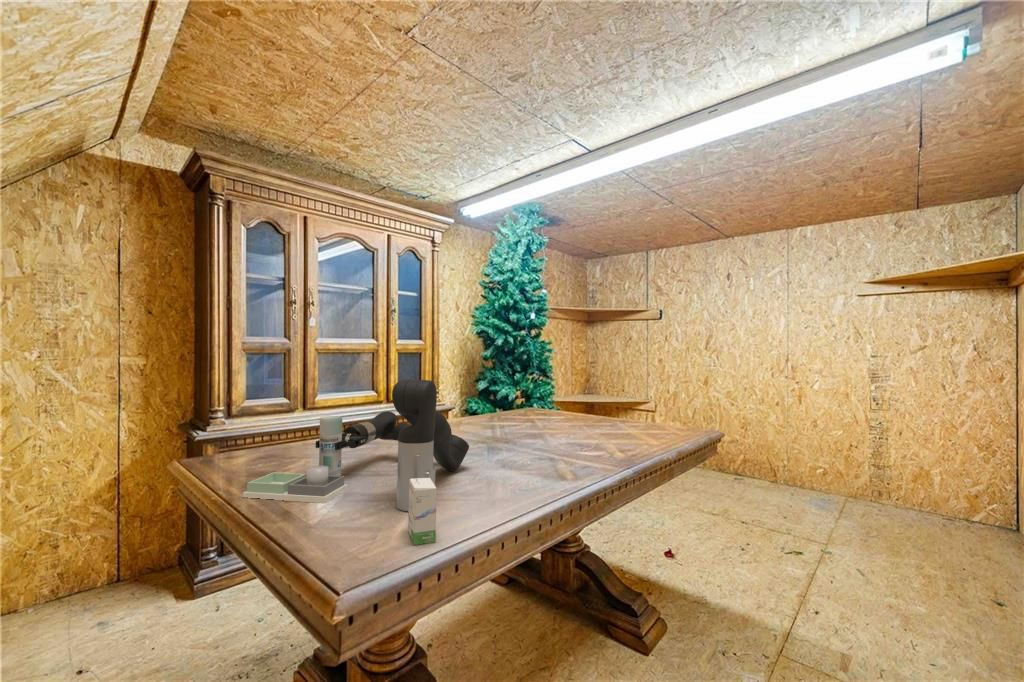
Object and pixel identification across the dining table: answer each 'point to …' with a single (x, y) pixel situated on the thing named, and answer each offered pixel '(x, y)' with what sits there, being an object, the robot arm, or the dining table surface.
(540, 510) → the dining table surface
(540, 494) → the dining table surface
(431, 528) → the ink box
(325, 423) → the spray paint can
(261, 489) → the double tray
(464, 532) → the dining table surface
